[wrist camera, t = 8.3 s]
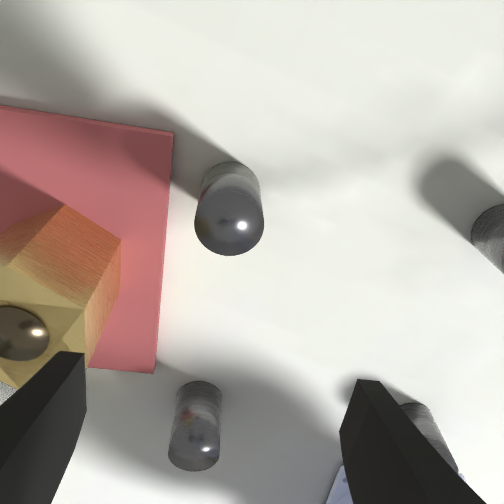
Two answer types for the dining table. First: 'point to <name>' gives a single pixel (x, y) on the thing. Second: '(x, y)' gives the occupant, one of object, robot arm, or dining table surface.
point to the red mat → (98, 208)
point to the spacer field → (238, 242)
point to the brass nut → (54, 289)
